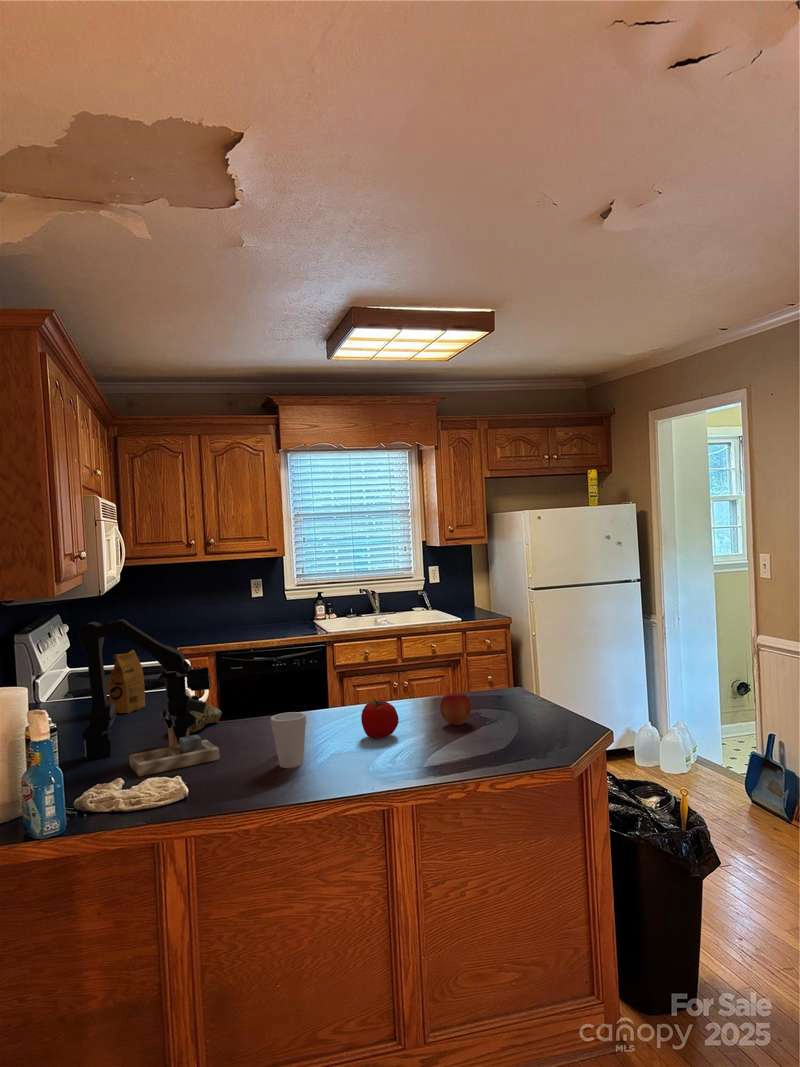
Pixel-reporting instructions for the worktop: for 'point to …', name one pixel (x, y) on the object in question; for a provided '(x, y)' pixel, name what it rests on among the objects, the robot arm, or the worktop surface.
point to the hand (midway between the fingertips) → (179, 744)
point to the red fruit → (379, 719)
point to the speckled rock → (204, 718)
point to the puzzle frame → (174, 756)
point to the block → (174, 737)
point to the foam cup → (289, 738)
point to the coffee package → (127, 683)
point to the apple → (455, 708)
